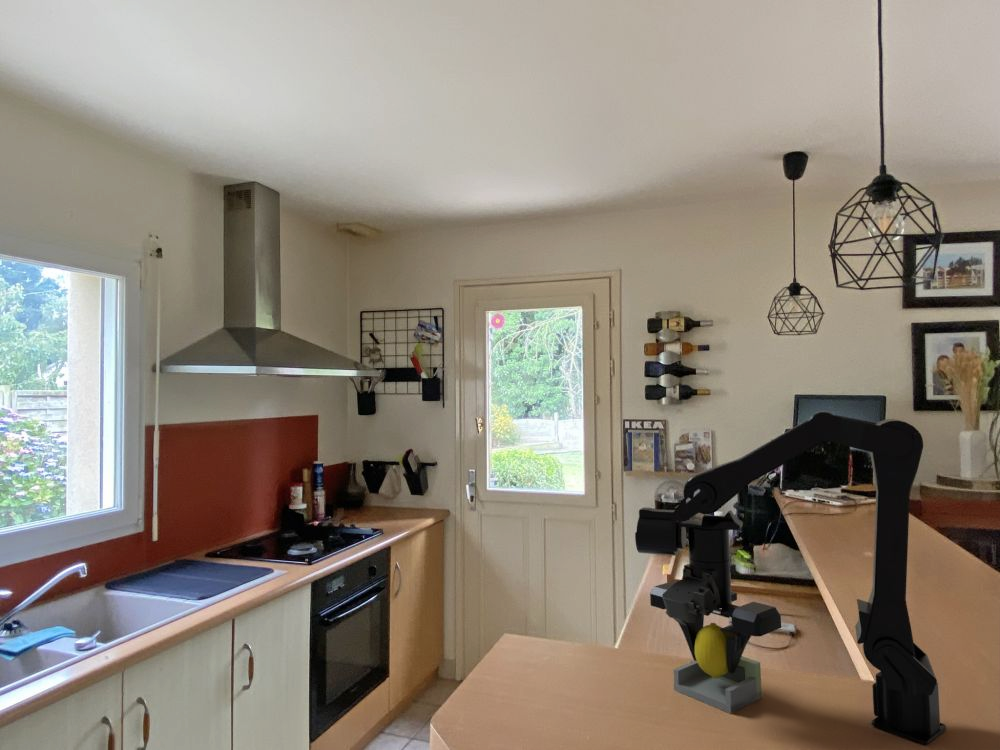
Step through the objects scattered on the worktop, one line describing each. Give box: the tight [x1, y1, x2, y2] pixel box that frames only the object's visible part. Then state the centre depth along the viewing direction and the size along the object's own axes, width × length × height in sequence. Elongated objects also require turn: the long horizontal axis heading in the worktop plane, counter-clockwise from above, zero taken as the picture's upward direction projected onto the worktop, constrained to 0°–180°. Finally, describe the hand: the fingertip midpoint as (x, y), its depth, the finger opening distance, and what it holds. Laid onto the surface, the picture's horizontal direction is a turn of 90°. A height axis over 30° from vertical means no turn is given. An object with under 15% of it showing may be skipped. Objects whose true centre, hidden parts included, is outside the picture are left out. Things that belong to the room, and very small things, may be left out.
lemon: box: [695, 622, 728, 679], centre depth 96 cm, size 6×6×8 cm
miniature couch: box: [673, 655, 763, 714], centre depth 96 cm, size 10×8×5 cm
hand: (713, 666), depth 95 cm, fingers closed on lemon, 5 cm apart
